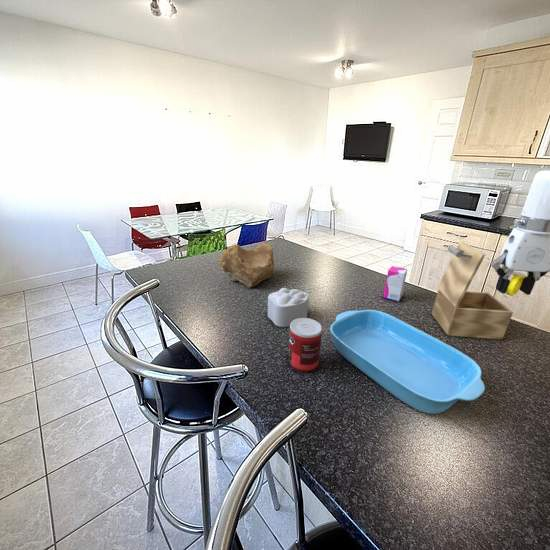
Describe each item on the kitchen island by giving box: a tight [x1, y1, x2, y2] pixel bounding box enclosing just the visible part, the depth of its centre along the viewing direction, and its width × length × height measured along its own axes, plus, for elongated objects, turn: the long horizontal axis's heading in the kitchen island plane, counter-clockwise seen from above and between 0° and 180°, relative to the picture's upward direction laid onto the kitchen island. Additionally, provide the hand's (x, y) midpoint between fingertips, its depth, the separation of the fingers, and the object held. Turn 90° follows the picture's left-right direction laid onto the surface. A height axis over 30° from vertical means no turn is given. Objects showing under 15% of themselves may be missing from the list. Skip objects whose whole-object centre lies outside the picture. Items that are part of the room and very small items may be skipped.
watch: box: [505, 271, 527, 297], centre depth 76 cm, size 6×3×6 cm, turn 126°
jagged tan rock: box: [219, 242, 275, 289], centre depth 117 cm, size 23×17×15 cm
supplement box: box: [382, 265, 408, 303], centre depth 108 cm, size 6×6×12 cm
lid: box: [437, 240, 486, 307], centre depth 86 cm, size 16×13×5 cm
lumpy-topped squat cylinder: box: [267, 287, 310, 328], centre depth 94 cm, size 10×13×9 cm
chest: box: [431, 289, 514, 340], centre depth 91 cm, size 16×13×9 cm
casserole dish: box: [329, 309, 486, 415], centre depth 73 cm, size 37×22×7 cm, turn 35°
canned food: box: [287, 317, 323, 372], centre depth 73 cm, size 8×8×11 cm
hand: (512, 291), depth 77 cm, fingers closed on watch, 5 cm apart
